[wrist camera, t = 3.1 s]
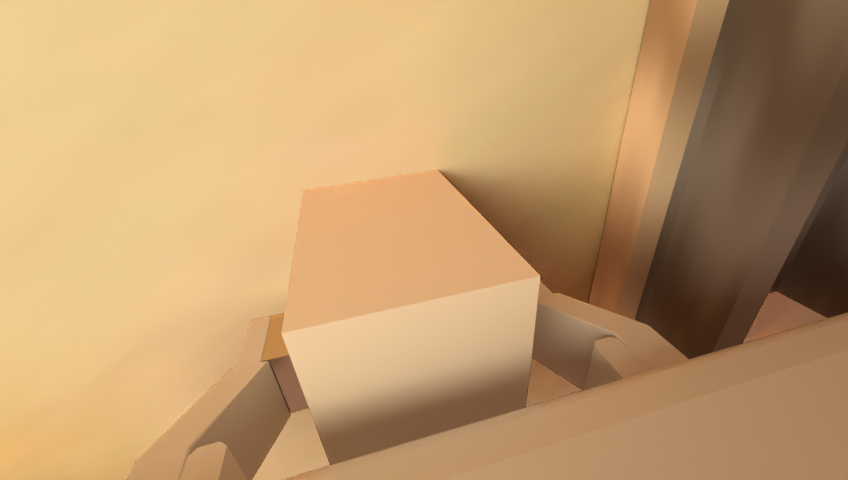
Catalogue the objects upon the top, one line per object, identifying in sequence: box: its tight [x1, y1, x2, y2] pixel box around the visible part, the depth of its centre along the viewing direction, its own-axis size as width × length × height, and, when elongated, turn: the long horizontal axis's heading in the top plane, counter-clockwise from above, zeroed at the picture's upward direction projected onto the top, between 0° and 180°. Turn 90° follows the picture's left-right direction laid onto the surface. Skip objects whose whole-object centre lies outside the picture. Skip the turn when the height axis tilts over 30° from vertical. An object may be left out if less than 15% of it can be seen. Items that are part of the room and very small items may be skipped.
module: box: [281, 170, 540, 465], centre depth 9 cm, size 6×4×6 cm, turn 4°
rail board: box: [589, 0, 848, 359], centre depth 10 cm, size 19×10×4 cm, turn 4°
